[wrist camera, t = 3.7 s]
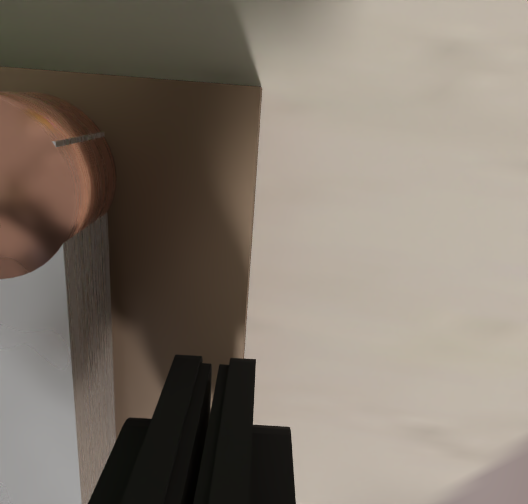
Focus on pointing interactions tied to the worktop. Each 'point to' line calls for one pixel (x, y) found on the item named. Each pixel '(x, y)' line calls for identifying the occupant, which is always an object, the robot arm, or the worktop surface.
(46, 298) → the aluminium link
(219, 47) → the worktop surface
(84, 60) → the worktop surface
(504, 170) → the worktop surface
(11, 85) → the walnut board
